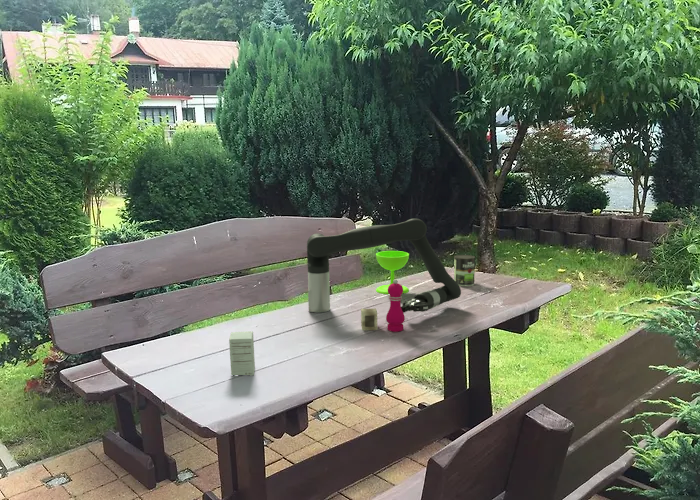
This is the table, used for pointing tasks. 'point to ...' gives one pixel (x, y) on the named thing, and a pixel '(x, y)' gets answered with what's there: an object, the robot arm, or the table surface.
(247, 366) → the supplement box
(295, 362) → the table surface
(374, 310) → the pale yellow cube-like block
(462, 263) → the coffee can
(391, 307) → the pepper mill
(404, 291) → the wineglass
